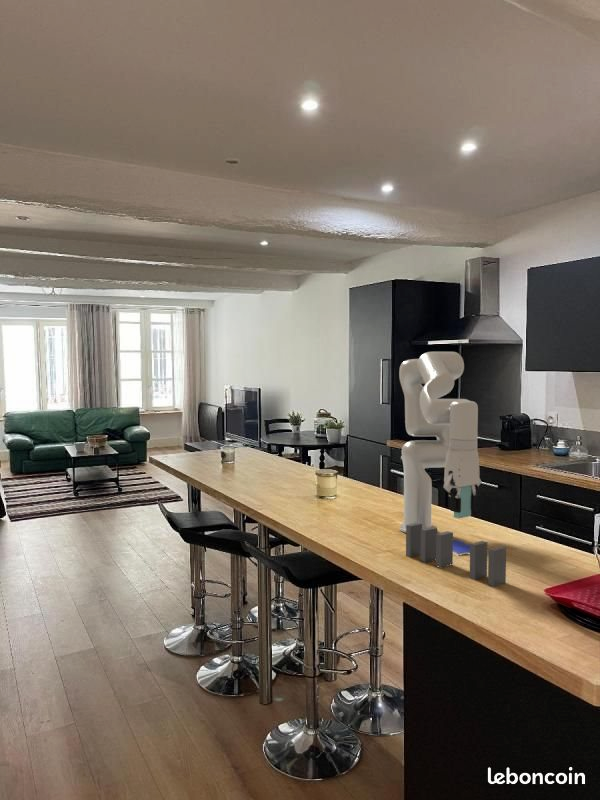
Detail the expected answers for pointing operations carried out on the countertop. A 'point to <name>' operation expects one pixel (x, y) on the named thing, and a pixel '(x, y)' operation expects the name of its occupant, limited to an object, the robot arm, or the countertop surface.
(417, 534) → the tile
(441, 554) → the tile
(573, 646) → the countertop surface
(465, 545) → the hard drive
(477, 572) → the tile
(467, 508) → the tile
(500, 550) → the tile
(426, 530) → the tile
